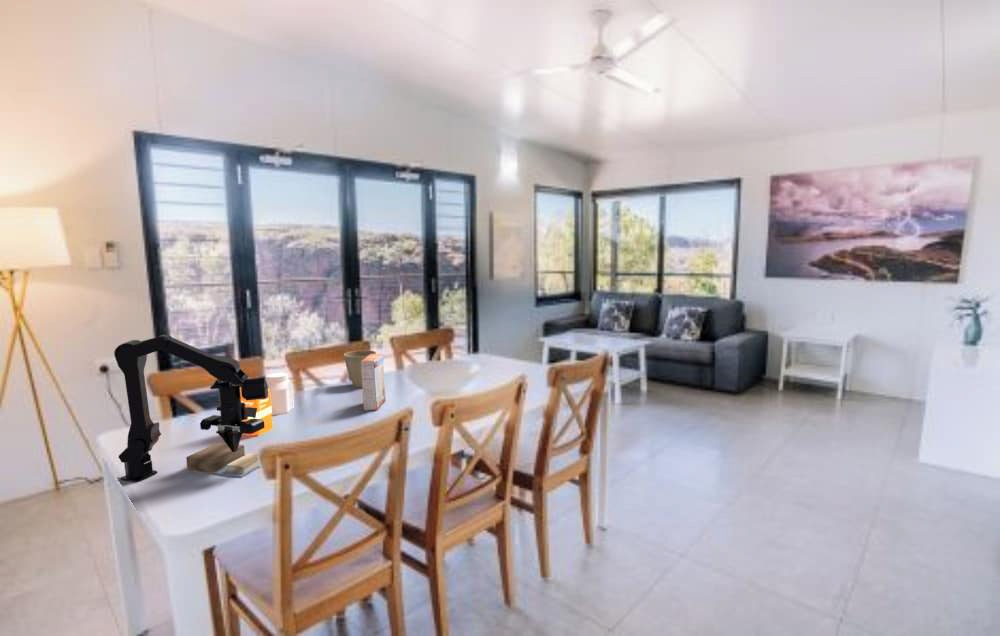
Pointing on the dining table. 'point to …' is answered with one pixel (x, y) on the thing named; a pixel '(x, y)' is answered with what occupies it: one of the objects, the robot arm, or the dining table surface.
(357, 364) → the plant pot
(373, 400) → the cracker box
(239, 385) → the robot arm
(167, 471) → the dining table surface
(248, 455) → the beige rectangular block
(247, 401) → the orange juice
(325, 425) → the dining table surface
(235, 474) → the mat
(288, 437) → the dining table surface
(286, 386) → the jar
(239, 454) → the brown wooden flat block
